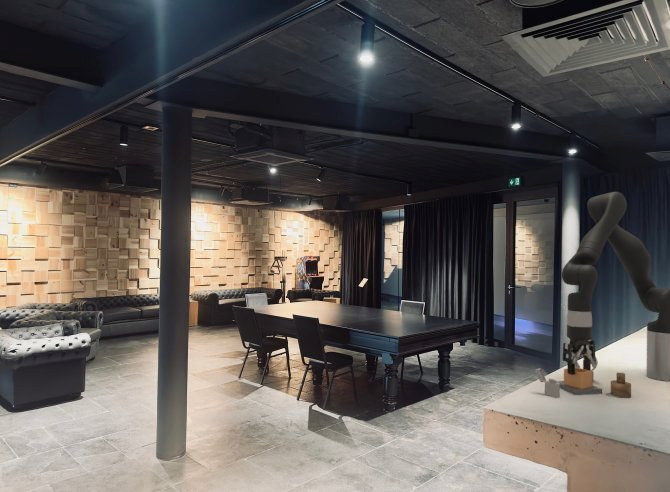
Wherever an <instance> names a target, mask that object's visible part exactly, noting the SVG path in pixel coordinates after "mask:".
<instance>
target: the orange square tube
mask: <svg viewBox="0 0 670 492" xmlns="http://www.w3.org/2000/svg"><path fill="white" fill-rule="evenodd" d="M593 372H594V370H593V371H590V370H586V369H583V368H581V367H580V368H577V367H575V375H571V374H568V371H567V368H564V369H563V381H564V384H566V385H570V386H573V387H577V388H580V389H583V388H588V387H592V386H594V373H593Z"/></svg>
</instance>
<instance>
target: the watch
mask: <svg viewBox="0 0 670 492" xmlns="http://www.w3.org/2000/svg"><path fill="white" fill-rule="evenodd" d="M590 352H591V354H592V351H591V350H590ZM572 359H573V357H572ZM598 363H599V362H598V358H597V357H596V355H595V358H592V360H591V371H593V374H594V370H595V369H596V368H598V367H597V366H598ZM574 364H575V367H577V368H581V366H580V364H579V362H578V358H577V359H576V361H575V363H574Z"/></svg>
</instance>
